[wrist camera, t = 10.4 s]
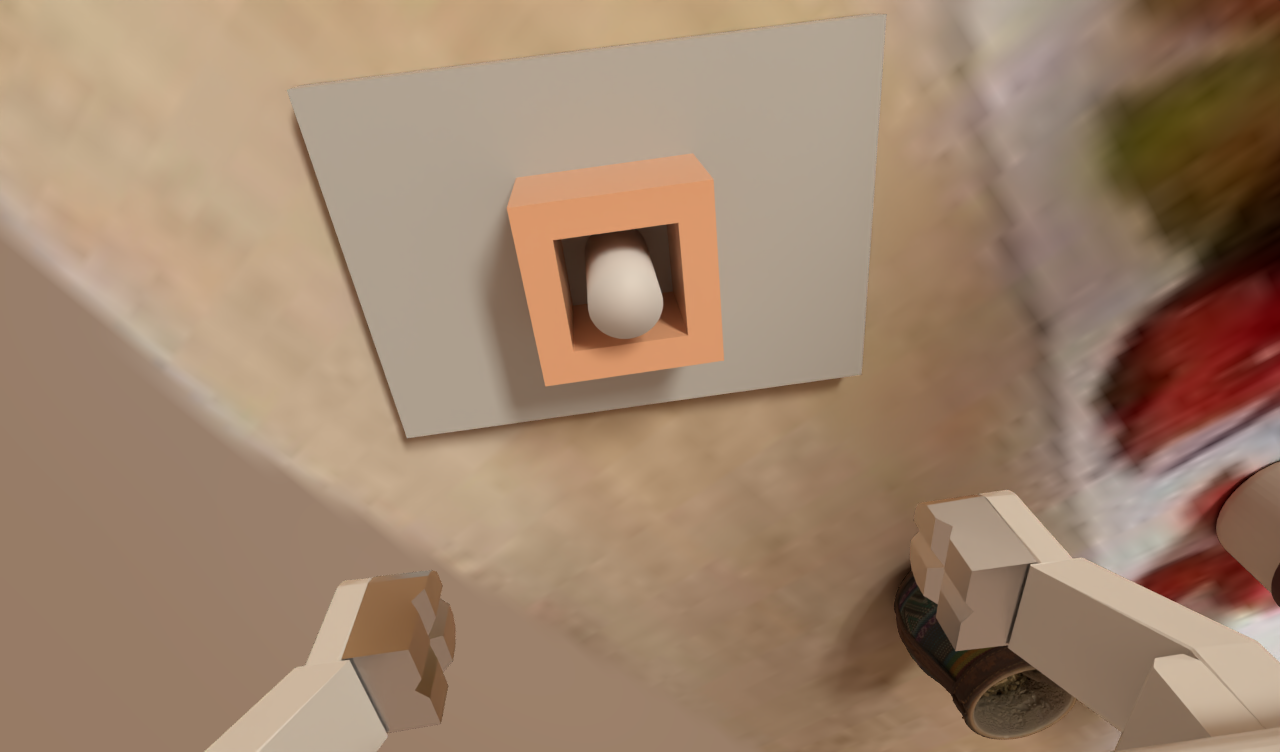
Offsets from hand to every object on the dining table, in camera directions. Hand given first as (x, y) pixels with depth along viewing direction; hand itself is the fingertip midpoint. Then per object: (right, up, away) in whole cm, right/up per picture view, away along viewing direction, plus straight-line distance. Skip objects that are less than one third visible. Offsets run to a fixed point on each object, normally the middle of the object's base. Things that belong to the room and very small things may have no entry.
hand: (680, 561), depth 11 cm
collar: (-2, +8, +14) cm, 16 cm away
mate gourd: (+16, -8, +27) cm, 33 cm away
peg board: (-2, +8, +15) cm, 18 cm away
